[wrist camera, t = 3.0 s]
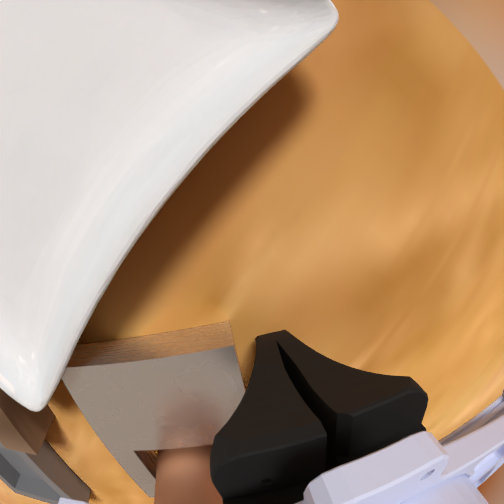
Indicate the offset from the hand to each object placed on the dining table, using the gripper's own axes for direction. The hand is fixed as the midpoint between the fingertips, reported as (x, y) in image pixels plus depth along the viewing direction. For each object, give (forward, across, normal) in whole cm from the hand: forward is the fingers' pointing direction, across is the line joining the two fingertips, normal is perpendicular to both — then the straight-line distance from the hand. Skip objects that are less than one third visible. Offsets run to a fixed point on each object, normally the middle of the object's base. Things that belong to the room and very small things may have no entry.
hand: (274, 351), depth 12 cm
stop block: (+1, +15, +1) cm, 15 cm away
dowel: (+1, +6, +7) cm, 9 cm away
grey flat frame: (+1, +6, +4) cm, 7 cm away
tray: (+1, +21, +9) cm, 23 cm away
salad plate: (+1, +10, -14) cm, 18 cm away
